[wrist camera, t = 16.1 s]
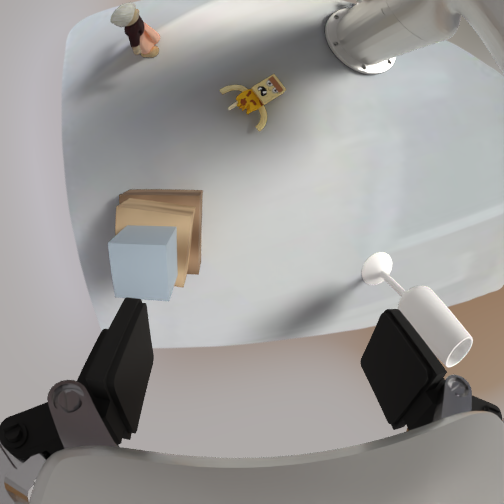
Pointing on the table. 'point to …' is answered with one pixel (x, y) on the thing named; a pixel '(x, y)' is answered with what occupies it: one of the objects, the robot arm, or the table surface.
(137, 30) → the grandmother figurine
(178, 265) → the tower top
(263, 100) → the character toy
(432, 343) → the champagne flute
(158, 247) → the blue cube
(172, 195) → the tower bottom
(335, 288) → the table surface
